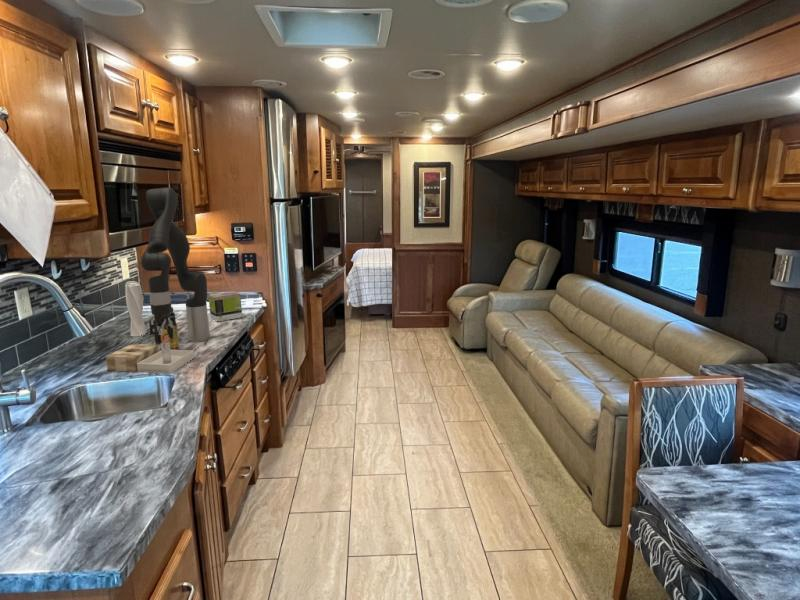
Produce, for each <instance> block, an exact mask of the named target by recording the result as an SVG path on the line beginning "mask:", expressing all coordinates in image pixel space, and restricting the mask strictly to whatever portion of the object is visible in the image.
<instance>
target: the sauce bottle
mask: <svg viewBox="0 0 800 600" xmlns="http://www.w3.org/2000/svg"><path fill="white" fill-rule="evenodd" d="M171 307H172V312H174V307H173V306H171ZM172 323H173V321H172ZM167 329H168V328H167V327H166V326H165V327H163V330H161V334H167ZM173 335H174V337H172V338H169V343H170V350H179V347H180V345H179V334H178V323H177V322H176V326H174V328H173Z"/></svg>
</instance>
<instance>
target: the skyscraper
mask: <svg viewBox="0 0 800 600" xmlns="http://www.w3.org/2000/svg"><path fill="white" fill-rule="evenodd" d="M124 287H125V290H124V291H125V292H124V293H125V302H126V308H127V311H128V313H129V314H128V315H129V317H130V337H140V336H141V335H142V336H144V335H146V334H145V333H147V332H148V331H147V328H146V325H145V321H144V318H143V311H144V297H143V291H142V286H141V284H140V283H139V282H138V281H132V280H131V281H126V283H125V286H124ZM143 334H144V335H143ZM142 336H141V337H142Z"/></svg>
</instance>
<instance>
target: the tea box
mask: <svg viewBox="0 0 800 600" xmlns="http://www.w3.org/2000/svg"><path fill="white" fill-rule="evenodd" d="M207 297H208V303H209V305H208V306H209V313H210V319H211V318H212V319H213V320H215V321H222V322H224V321H223V320H228V321H230V320H229V319H234V318H239V317H242V318H243V309H242V297H241V293H239V292H237V291H233V290H232V291H226V292H219V293H213V294H211V293H210V294H207ZM212 319H211V320H212ZM239 319H240V318H239ZM213 320H212V321H213ZM234 320H235V319H234ZM215 321H214V322H215Z"/></svg>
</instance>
